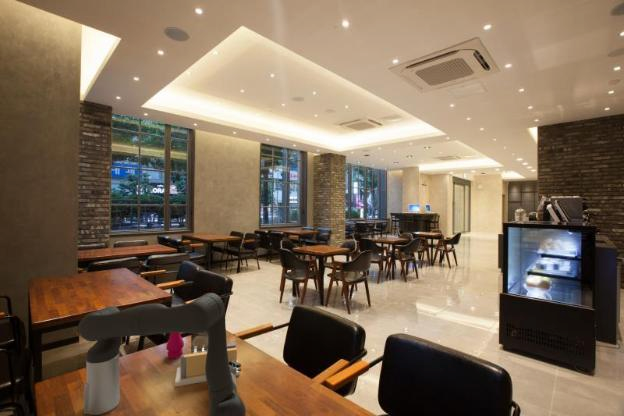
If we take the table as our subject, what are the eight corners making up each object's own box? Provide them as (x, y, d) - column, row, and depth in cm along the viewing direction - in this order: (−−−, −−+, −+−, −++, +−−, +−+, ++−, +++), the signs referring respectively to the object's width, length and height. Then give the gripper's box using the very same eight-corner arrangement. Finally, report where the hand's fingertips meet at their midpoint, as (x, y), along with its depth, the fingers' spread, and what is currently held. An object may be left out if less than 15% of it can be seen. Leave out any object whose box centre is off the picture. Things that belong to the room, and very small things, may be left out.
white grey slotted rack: (174, 386, 114) (175, 359, 114) (177, 371, 125) (177, 345, 124) (239, 375, 122) (239, 349, 122) (236, 361, 133) (237, 337, 132)
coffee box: (190, 359, 134) (190, 323, 133) (196, 352, 140) (197, 318, 140) (209, 360, 133) (210, 324, 132) (215, 353, 139) (216, 319, 139)
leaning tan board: (180, 378, 116) (180, 358, 116) (180, 374, 119) (180, 354, 119) (236, 369, 124) (236, 349, 123) (236, 365, 126) (236, 346, 126)
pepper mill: (167, 352, 140) (167, 309, 139) (184, 350, 142) (184, 308, 141) (165, 360, 133) (165, 315, 132) (182, 358, 135) (183, 313, 134)
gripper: (244, 369, 108) (240, 346, 124) (205, 375, 103) (206, 351, 120) (244, 389, 108) (240, 364, 124) (205, 397, 104) (206, 370, 120)
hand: (223, 358), depth 122 cm, fingers closed
